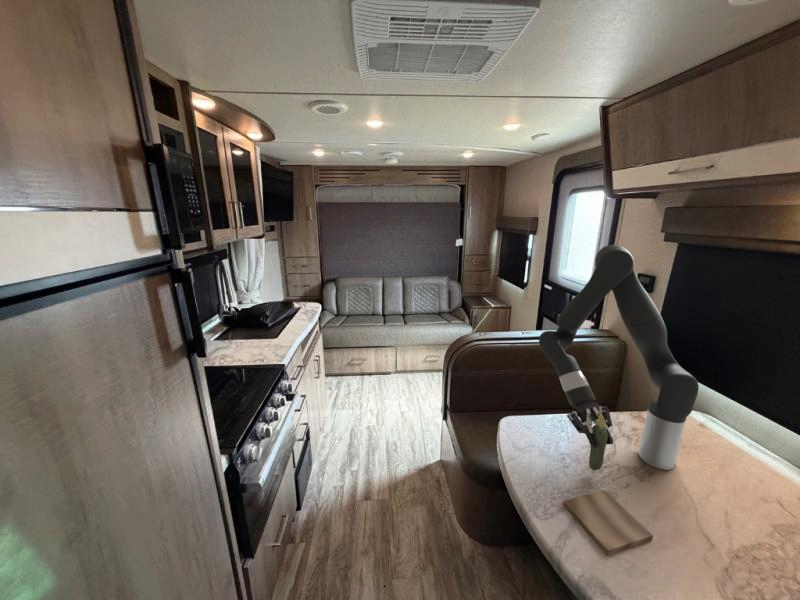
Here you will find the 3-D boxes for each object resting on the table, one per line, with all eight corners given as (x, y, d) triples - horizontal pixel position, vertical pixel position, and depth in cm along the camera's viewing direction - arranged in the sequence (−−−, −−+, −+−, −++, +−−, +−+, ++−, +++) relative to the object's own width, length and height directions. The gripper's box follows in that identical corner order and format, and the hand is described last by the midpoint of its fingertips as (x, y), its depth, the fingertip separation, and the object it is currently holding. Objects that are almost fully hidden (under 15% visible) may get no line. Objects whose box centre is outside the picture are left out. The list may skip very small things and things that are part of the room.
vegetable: (603, 478, 94) (613, 420, 89) (587, 476, 95) (596, 419, 90) (597, 466, 98) (606, 411, 93) (582, 465, 99) (591, 410, 94)
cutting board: (603, 493, 91) (604, 489, 90) (652, 539, 78) (653, 535, 77) (563, 505, 87) (563, 500, 87) (606, 555, 74) (607, 550, 74)
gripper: (565, 388, 95) (592, 449, 87) (602, 381, 99) (632, 439, 90) (550, 394, 102) (575, 451, 93) (586, 388, 105) (613, 442, 97)
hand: (603, 445), depth 92 cm, fingers closed on vegetable, 4 cm apart
